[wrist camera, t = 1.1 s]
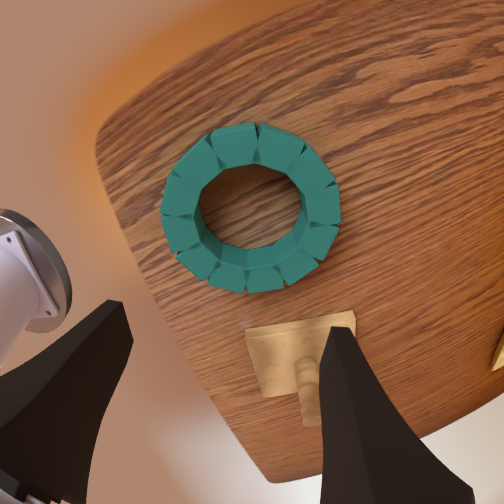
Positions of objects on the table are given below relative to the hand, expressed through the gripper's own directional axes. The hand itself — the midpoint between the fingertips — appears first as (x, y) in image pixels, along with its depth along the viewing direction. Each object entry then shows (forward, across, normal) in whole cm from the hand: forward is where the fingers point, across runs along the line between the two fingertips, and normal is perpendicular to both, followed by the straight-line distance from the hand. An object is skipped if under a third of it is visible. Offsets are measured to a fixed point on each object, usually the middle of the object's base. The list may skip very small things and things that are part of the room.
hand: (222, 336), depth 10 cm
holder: (+12, -5, +14) cm, 19 cm away
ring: (+11, 0, 0) cm, 11 cm away
